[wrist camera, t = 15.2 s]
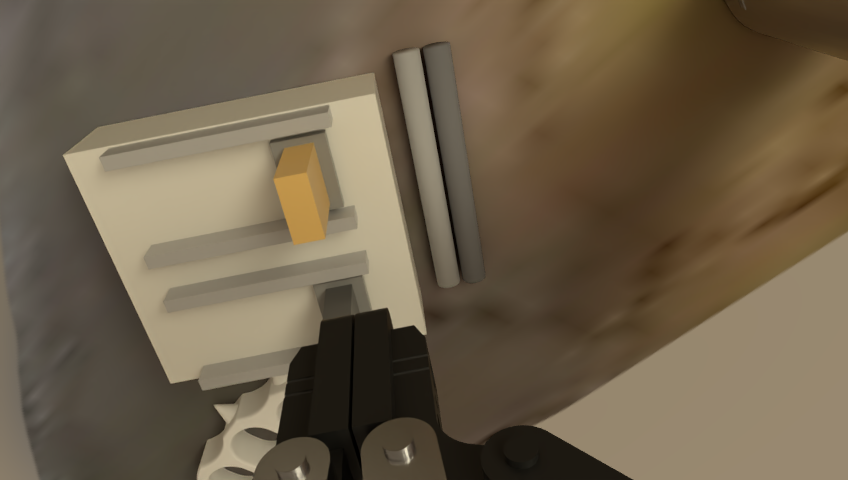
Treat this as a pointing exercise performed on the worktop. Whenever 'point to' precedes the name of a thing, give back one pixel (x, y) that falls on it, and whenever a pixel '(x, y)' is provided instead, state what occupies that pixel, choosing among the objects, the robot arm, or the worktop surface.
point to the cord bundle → (452, 158)
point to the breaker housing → (245, 226)
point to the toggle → (342, 297)
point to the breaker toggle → (306, 184)
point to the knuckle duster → (243, 432)
